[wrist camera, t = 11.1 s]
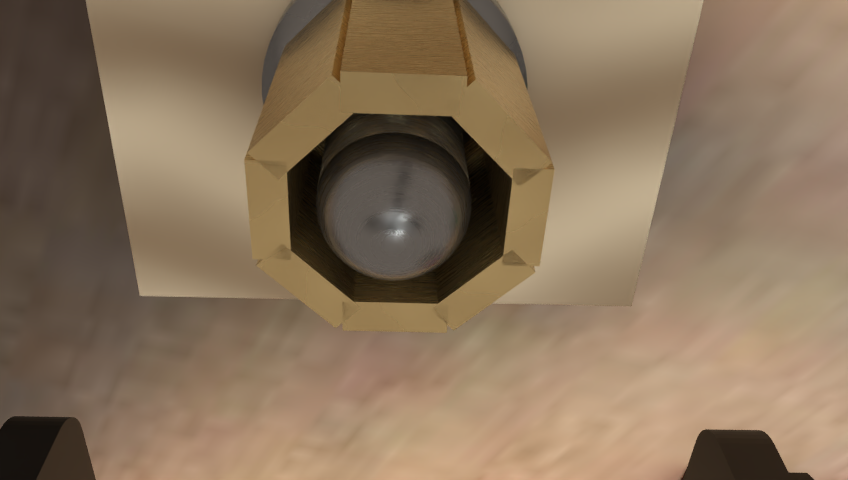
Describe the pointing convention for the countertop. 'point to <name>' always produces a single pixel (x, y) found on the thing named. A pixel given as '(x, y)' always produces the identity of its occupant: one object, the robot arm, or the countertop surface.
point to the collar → (404, 95)
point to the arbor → (391, 172)
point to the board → (242, 104)
